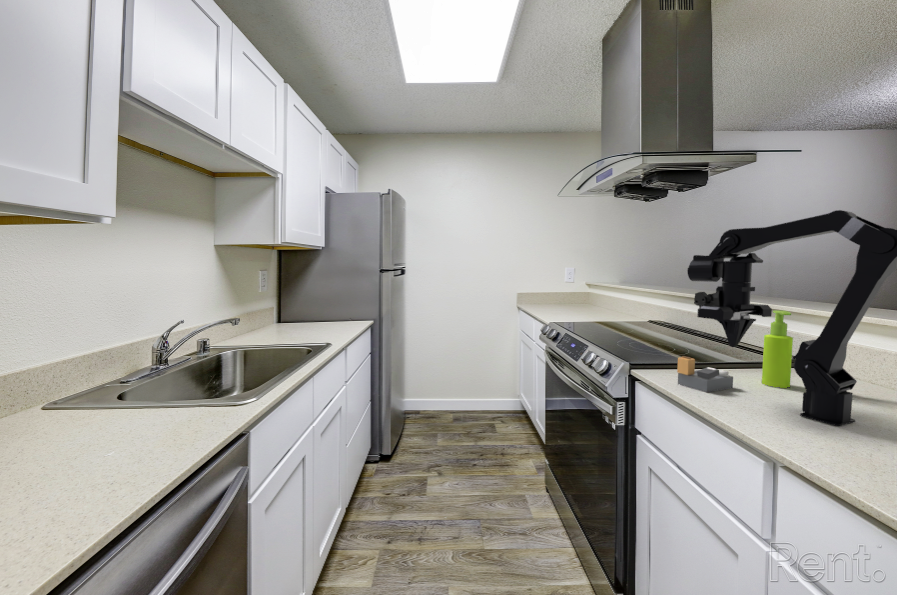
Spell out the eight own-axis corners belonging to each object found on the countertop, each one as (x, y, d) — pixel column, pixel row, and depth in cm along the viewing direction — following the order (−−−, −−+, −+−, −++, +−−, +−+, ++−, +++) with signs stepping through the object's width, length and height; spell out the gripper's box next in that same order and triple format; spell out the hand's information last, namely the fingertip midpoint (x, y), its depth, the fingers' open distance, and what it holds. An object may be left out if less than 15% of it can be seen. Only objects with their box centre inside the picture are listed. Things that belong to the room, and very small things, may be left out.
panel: (732, 387, 105) (733, 371, 105) (706, 392, 102) (707, 375, 101) (703, 380, 113) (703, 365, 113) (677, 383, 109) (678, 368, 109)
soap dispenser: (769, 388, 105) (773, 311, 104) (757, 381, 112) (761, 309, 110) (796, 390, 103) (801, 312, 102) (783, 383, 110) (787, 309, 109)
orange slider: (694, 374, 107) (695, 357, 107) (687, 375, 106) (688, 358, 106) (683, 371, 110) (684, 355, 109) (677, 372, 109) (677, 356, 108)
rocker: (719, 374, 103) (719, 369, 103) (708, 379, 102) (708, 373, 101) (707, 372, 106) (707, 366, 106) (697, 376, 104) (696, 370, 104)
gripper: (727, 281, 108) (725, 339, 109) (678, 281, 101) (675, 343, 102) (774, 282, 98) (771, 346, 99) (723, 283, 91) (720, 352, 92)
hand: (733, 346), depth 98 cm, fingers closed
